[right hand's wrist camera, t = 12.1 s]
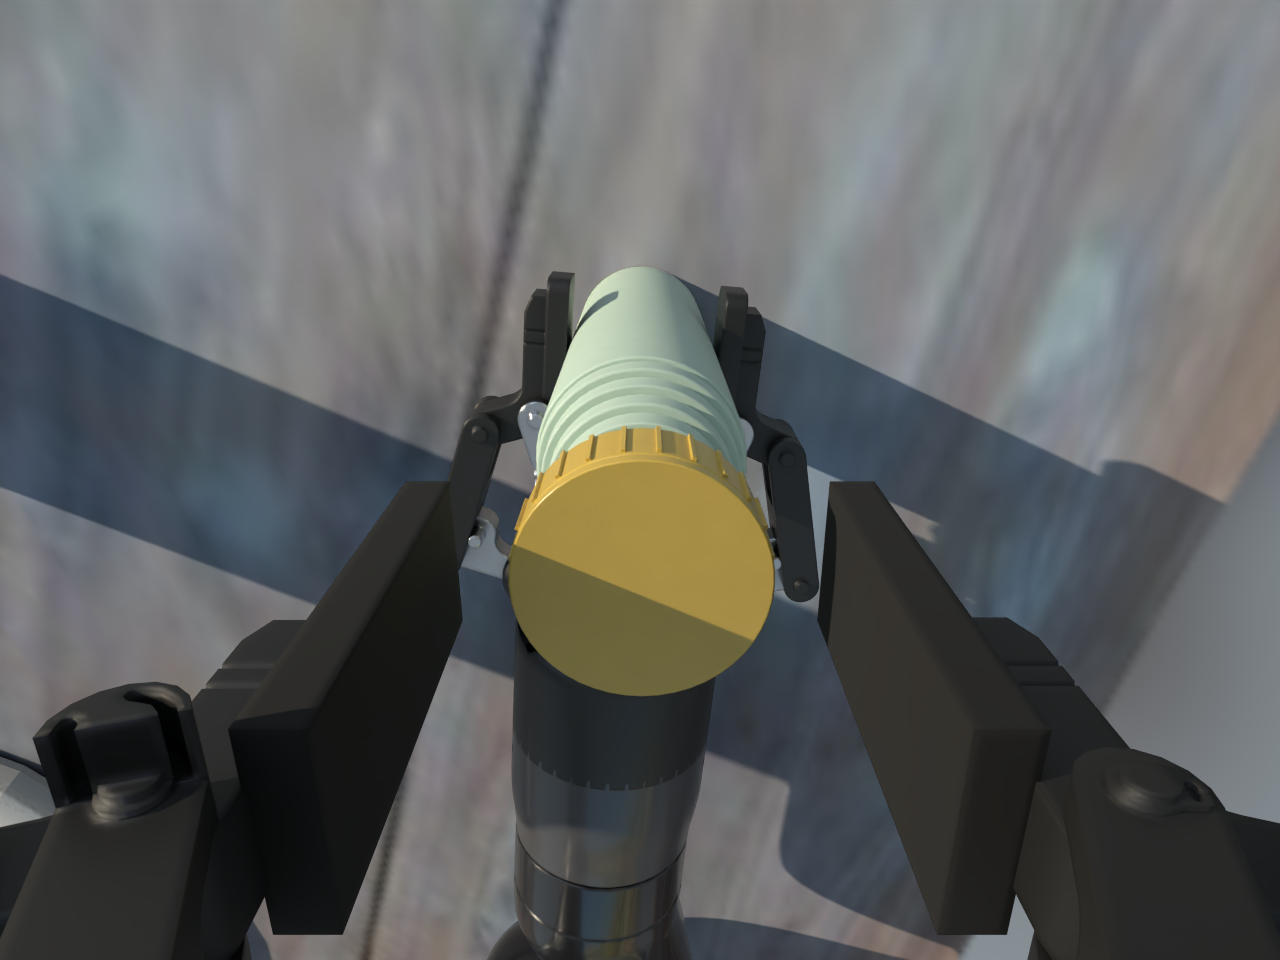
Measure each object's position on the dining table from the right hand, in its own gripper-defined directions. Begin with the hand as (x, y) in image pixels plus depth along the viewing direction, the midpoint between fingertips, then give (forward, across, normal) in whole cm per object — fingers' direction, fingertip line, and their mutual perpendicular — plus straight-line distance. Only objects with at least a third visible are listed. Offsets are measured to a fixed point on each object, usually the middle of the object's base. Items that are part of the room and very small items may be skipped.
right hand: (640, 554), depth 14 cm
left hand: (+13, 0, -3) cm, 14 cm away
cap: (-1, 0, 0) cm, 1 cm away
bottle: (+20, 0, 0) cm, 20 cm away
